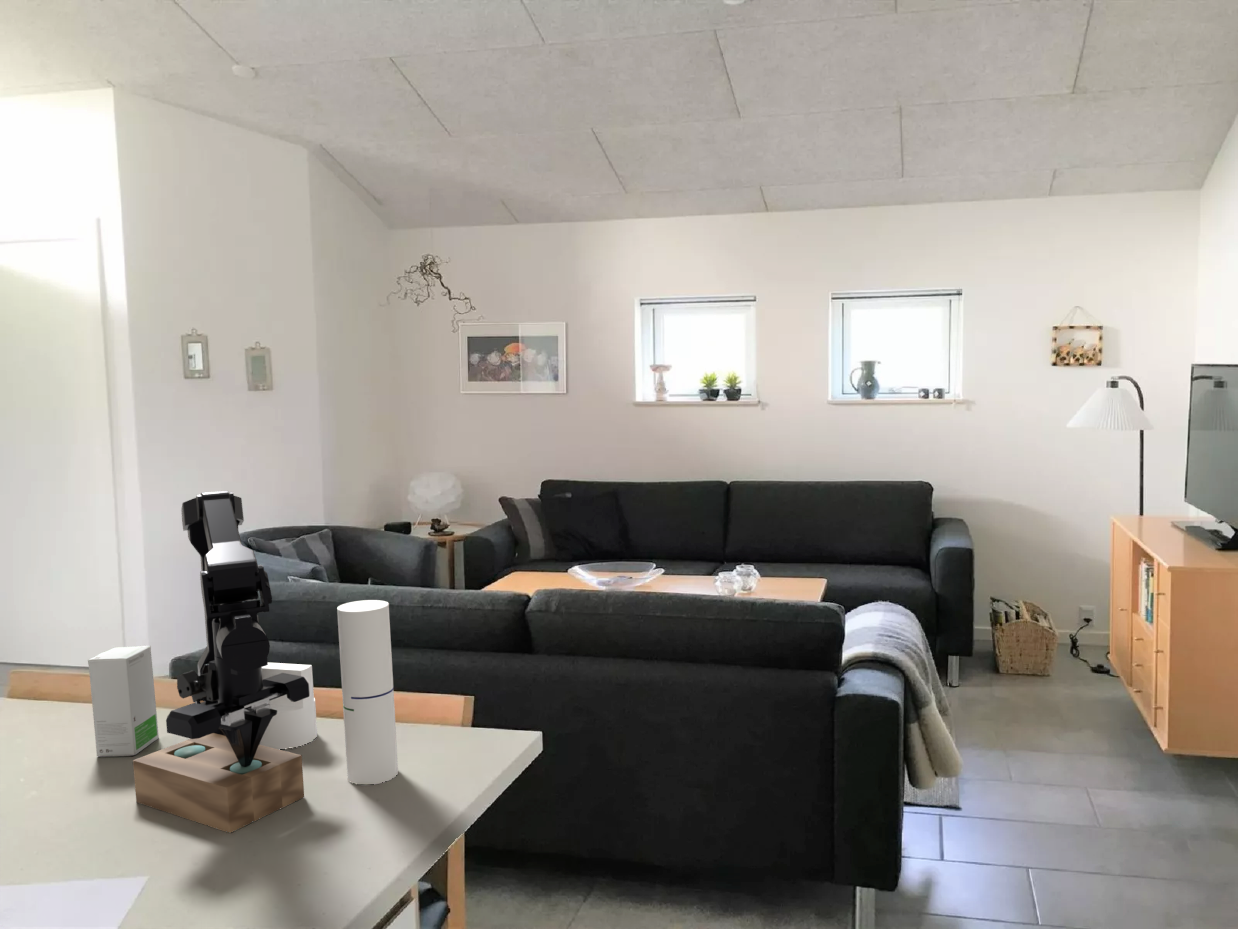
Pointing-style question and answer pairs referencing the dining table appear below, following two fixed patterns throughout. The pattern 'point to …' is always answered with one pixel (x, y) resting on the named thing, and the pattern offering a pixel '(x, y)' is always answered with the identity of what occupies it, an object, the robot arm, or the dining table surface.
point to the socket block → (218, 783)
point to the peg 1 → (189, 751)
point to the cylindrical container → (367, 691)
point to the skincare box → (123, 700)
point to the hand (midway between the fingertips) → (245, 765)
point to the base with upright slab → (290, 711)
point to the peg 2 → (243, 770)
